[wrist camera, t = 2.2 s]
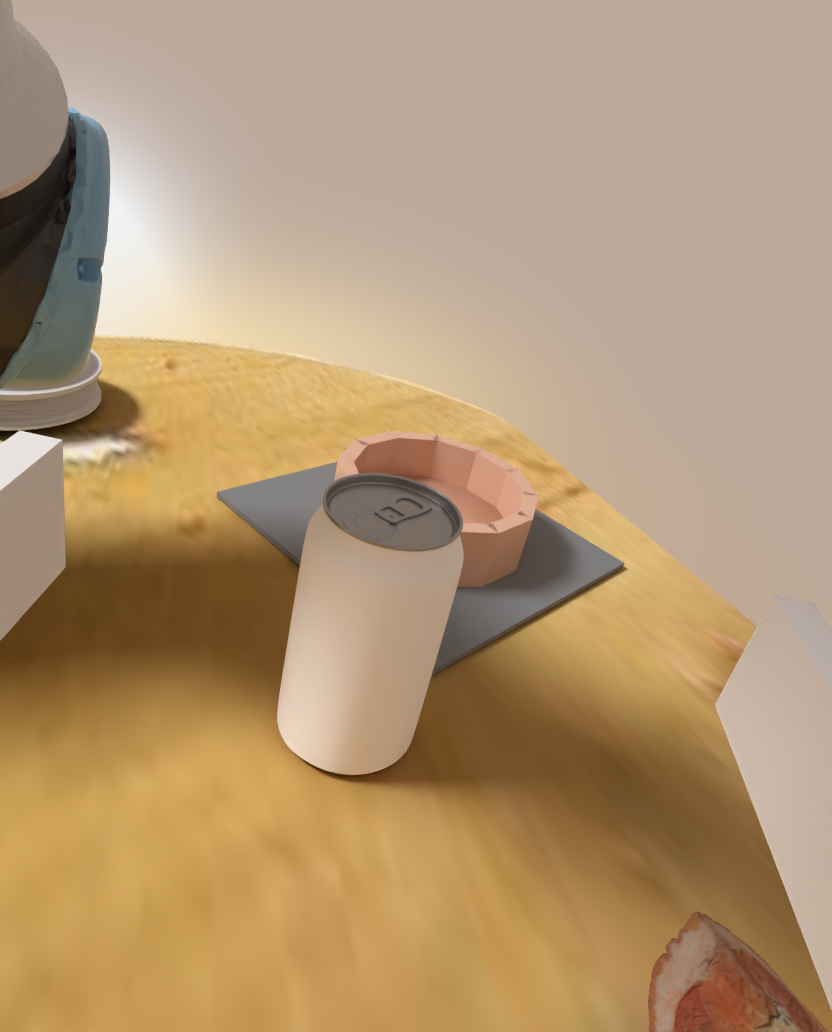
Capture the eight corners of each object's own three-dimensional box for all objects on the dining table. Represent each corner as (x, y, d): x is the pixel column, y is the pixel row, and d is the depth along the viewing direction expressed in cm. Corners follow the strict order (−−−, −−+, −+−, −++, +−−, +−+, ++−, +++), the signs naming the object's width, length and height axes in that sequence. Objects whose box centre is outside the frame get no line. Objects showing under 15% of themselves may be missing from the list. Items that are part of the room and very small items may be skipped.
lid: (118, 384, 63) (119, 325, 60) (75, 454, 52) (74, 386, 49) (-50, 359, 60) (-56, 296, 58) (-132, 426, 49) (-144, 353, 47)
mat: (216, 497, 50) (217, 491, 50) (422, 444, 64) (423, 440, 64) (430, 676, 40) (432, 670, 40) (622, 567, 54) (624, 562, 53)
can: (245, 721, 35) (275, 494, 29) (339, 658, 40) (382, 454, 34) (351, 808, 32) (409, 577, 26) (438, 729, 37) (504, 519, 31)
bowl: (291, 505, 51) (299, 451, 49) (424, 467, 60) (435, 421, 58) (430, 612, 44) (445, 555, 42) (556, 551, 53) (574, 502, 51)
